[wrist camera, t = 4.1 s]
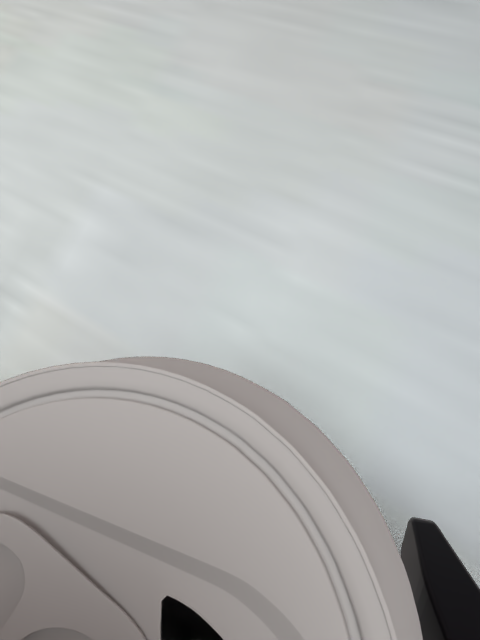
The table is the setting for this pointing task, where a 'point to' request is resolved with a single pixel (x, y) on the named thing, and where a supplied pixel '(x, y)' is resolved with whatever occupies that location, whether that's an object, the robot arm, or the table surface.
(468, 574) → the robot arm
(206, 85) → the table surface
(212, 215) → the table surface
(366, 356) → the table surface
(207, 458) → the beverage can
